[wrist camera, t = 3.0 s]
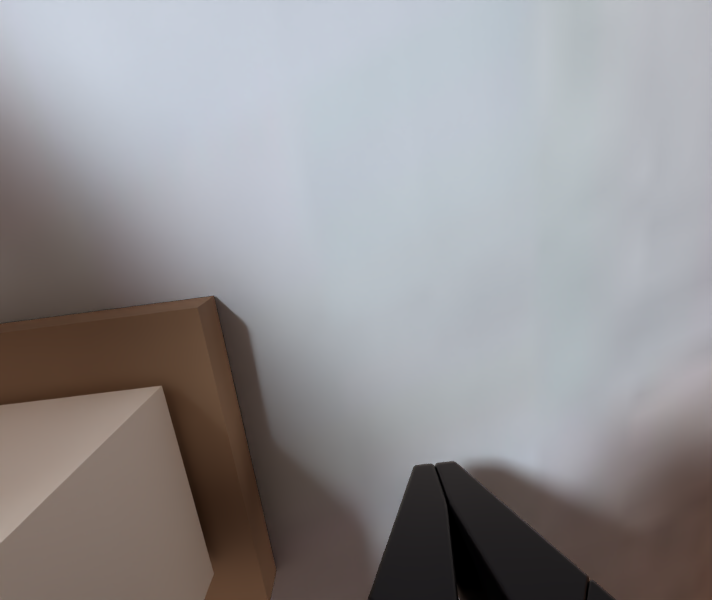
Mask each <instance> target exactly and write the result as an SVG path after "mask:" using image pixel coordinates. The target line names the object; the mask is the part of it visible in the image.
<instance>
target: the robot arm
mask: <svg viewBox="0 0 712 600" xmlns="http://www.w3.org/2000/svg"><path fill="white" fill-rule="evenodd" d="M458 596H459V599H460V600H616V599H614V598H613V597H612V596H611V595H610V594H609V593H607V592H606V591H605V590H604V589H603V588H602V587H600V586H599V585H598V584H597V583H596V582H595V581H593V580H590V581H589V577H588V576H587V575H586V574H585V573H584V572H583V571H582V570H580V569H579V568H578V567H577V566H576V565H575V564H573V563H572V562H571V561H570V560H569V559H568V558H567V557H565V556H564V555H563V554H562V553H561V552H560V551H558V550H557V549H556V548H555V547H554V546H553V545H551V544H550V543H549V542H548V541H547V540H546V539H544V538H543V537H542V536H541V535H540V534H539V533H538V532H536V531H535V530H534V529H533V528H532V527H531V526H529V525H528V524H527V523H526V522H525V521H524V520H522V519H521V518H520V517H519V516H518V515H517V514H515V513H514V512H513V511H512V510H511V509H510V508H509V507H507V506H506V505H505V504H504V503H503V502H502V501H500V500H499V499H498V498H497V497H496V496H495V495H493V494H492V493H491V492H490V491H489V490H488V489H486V488H485V487H484V486H483V485H482V484H481V483H480V482H478V481H477V480H476V479H475V478H474V477H473V476H471V475H470V474H469V473H468V472H467V471H466V470H464V469H463V468H462V467H461V466H460V465H459V464H457V463H456V462H454V461H450V462H441V463H436V465H435V466H434V465H433V464H422V465H415V466H414V467H413V470H412V473H411V476H410V478H409V481H408V484H407V487H406V490H405V493H404V496H403V499H402V502H401V504H400V507H399V510H398V513H397V516H396V519H395V522H394V525H393V528H392V531H391V533H390V536H389V539H388V542H387V545H386V548H385V551H384V554H383V557H382V559H381V562H380V565H379V568H378V571H377V574H376V577H375V580H374V583H373V585H372V588H371V591H370V594H369V597H368V600H459V599H458Z"/></svg>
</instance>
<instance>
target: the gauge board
mask: <svg viewBox="0 0 712 600" xmlns="http://www.w3.org/2000/svg"><path fill="white" fill-rule="evenodd" d="M154 386H162V388H163V392H164V395H165V399H166V403H167V406H168V410H169V413H170V417H171V421H172V424H173V428H174V431H175V435H176V439H177V442H178V446H179V449H180V453H181V457H182V460H183V464H184V468H185V471H186V475H187V478H188V482H189V486H190V489H191V493H192V496H193V500H194V504H195V507H196V511H197V515H198V518H199V522H200V525H201V529H202V533H203V536H204V540H205V543H206V547H207V551H208V554H209V558H210V562H211V565H212V569H213V572H214V575H213V578H212V580H211V583H210V586H209V588H208V591H207V594H206V596H205V599H204V600H270V599H271V594H272V589H273V585H274V580H275V575H276V566H275V562H274V558H273V553H272V549H271V544H270V540H269V536H268V531H267V527H266V522H265V518H264V514H263V509H262V505H261V500H260V496H259V492H258V487H257V483H256V479H255V474H254V470H253V465H252V461H251V457H250V452H249V448H248V443H247V439H246V435H245V430H244V426H243V421H242V417H241V413H240V408H239V404H238V400H237V395H236V391H235V386H234V382H233V378H232V373H231V369H230V364H229V360H228V356H227V351H226V347H225V342H224V338H223V334H222V329H221V325H220V320H219V316H218V312H217V307H216V303H215V299H214V296H209V297H202V298H194V299H186V300H178V301H171V302H163V303H155V304H148V305H140V306H132V307H125V308H117V309H109V310H102V311H94V312H86V313H78V314H71V315H63V316H55V317H48V318H40V319H32V320H25V321H17V322H9V323H1V324H0V405H7V404H15V403H23V402H31V401H40V400H48V399H56V398H64V397H72V396H81V395H89V394H97V393H105V392H113V391H122V390H130V389H138V388H146V387H154Z"/></svg>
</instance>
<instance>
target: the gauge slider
mask: <svg viewBox="0 0 712 600" xmlns="http://www.w3.org/2000/svg"><path fill="white" fill-rule="evenodd" d="M213 575H214V572H213V569H212V565H211V562H210V558H209V554H208V551H207V547H206V543H205V540H204V536H203V533H202V529H201V525H200V522H199V518H198V515H197V511H196V507H195V504H194V500H193V496H192V493H191V489H190V486H189V482H188V478H187V475H186V471H185V468H184V464H183V460H182V457H181V453H180V449H179V446H178V442H177V439H176V435H175V431H174V428H173V424H172V421H171V417H170V413H169V410H168V406H167V403H166V399H165V395H164V392H163V388H162V386H154V387H146V388H138V389H130V390H122V391H113V392H105V393H97V394H89V395H81V396H72V397H64V398H56V399H48V400H40V401H31V402H23V403H15V404H7V405H0V600H204V599H205V596H206V594H207V591H208V588H209V586H210V583H211V580H212V578H213Z"/></svg>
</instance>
